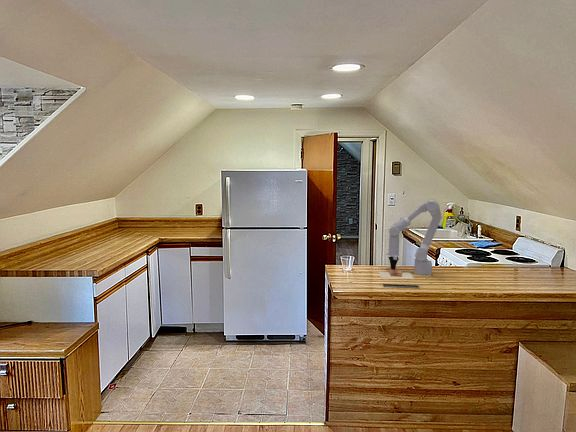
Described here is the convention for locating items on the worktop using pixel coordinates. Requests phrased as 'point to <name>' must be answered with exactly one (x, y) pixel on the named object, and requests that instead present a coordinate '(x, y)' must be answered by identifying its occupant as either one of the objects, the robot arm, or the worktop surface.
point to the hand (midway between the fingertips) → (393, 269)
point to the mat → (401, 286)
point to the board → (387, 275)
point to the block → (395, 273)
